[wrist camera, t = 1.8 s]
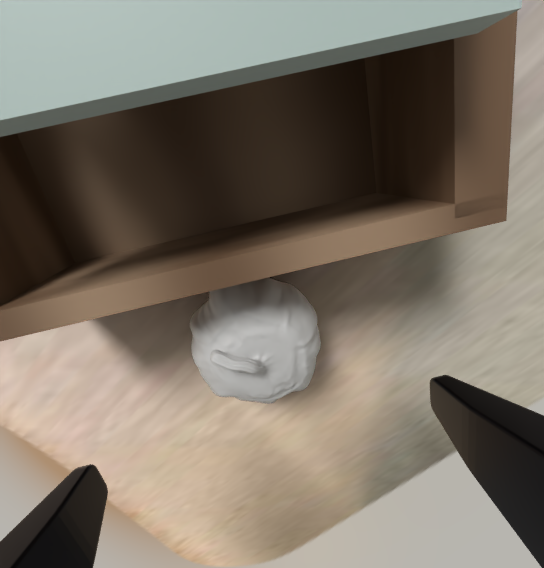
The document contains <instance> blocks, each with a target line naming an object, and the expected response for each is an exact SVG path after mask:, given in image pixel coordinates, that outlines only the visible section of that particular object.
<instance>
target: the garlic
mask: <svg viewBox="0 0 544 568" xmlns="http://www.w3.org/2000/svg"><path fill="white" fill-rule="evenodd" d="M209 297H210V298H209V299H208V301H207V302H205V303H204V304H203V305H202V306H201V308H199V309H198V310H197V311H196V312H194V314H193V315H192V317H191V320H190V329H191V331H192V334H193V338H192V344H191V351H192V357H193V360H194V362H195V364H196V366H197V367H198V368H199V372H200V374H201V376H202V377H203V379H204V380H205V381H206V383H207V384H208V385H209V387H210V389H211V390H212V392H213V393H214V394H216V395H217V396H220V397H235V398H237V399H239V400H243V401H252V402H259V403H268V404H269V403H274V402H275V401H276V400H277V399H279V398H281V397H283V396H285V395H287V394H289V393H291V392H294V391H301V390H304V389H305V388H306V387H307V386H308V385H309V383H310V381H311V378H312V376H313V373H314V370H315V365H316V356H317V354H318V353H319V351H320V347H321V340H320V337H319V329H318V326H317V315H316V312H315V310H314V308H313V306H312V305H311V304H310V303H309V301H308V300H307V298H306V297H305V296H304V295H303V294H302V293H301V292H300V291H298V289H297V288H296V287H294V286H293V285H291V284H288V283H283V282H279V281H276V280H274V279H272V278H264V279H260V280H255V281H251V282H247V283H243V284H239V285H234V286H230V287H226V288H222V289H218V290H213V291H209Z"/></svg>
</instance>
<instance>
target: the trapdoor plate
mask: <svg viewBox="0 0 544 568" xmlns="http://www.w3.org/2000/svg"><path fill="white" fill-rule="evenodd" d="M521 7H522V0H0V137H2V136H7V135H11V134H16V133H21V132H25V131H30V130H34V129H39V128H44V127H48V126H53V125H57V124H62V123H67V122H71V121H76V120H81V119H85V118H90V117H94V116H99V115H104V114H108V113H113V112H117V111H122V110H127V109H131V108H136V107H140V106H145V105H150V104H154V103H159V102H163V101H168V100H173V99H177V98H182V97H187V96H191V95H196V94H200V93H205V92H210V91H214V90H219V89H223V88H228V87H233V86H237V85H242V84H246V83H251V82H256V81H260V80H265V79H269V78H274V77H279V76H283V75H288V74H293V73H297V72H302V71H306V70H311V69H316V68H320V67H325V66H329V65H334V64H339V63H343V62H348V61H352V60H357V59H362V58H366V57H371V56H375V55H380V54H385V53H389V52H394V51H399V50H403V49H408V48H412V47H417V46H422V45H426V44H431V43H435V42H440V41H445V40H449V39H454V38H458V37H463V36H468V35H472V34H477V33H479V32H481V31H482V30H484V29H486V28H488V27H489V26H491V25H493V24H495V23H496V22H498V21H500V20H502V19H503V18H505V17H507V16H509V15H510V14H512V13H514V12H516V11H517V10H519V9H521Z"/></svg>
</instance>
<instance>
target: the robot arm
mask: <svg viewBox="0 0 544 568" xmlns="http://www.w3.org/2000/svg"><path fill="white" fill-rule="evenodd" d="M430 400H431V406H432V409H433V411H434V413H435V415H436V416H437V418H438V419H439V421H440V423H441V424H442V426H443V428H444V429H445V431H446V433H447V434H448V436H449V438H450V439H451V441H452V443H453V444H454V446H455V448H456V449H457V451H458V453H459V454H460V456H461V457H462V459H463V460H464V462H465V464H466V465H467V467H468V468H469V470H470V471H471V473H472V474H473V475H474V477H475V478H476V480H477V481H478V482H479V484H480V485H481V486H482V488H483V489H484V490H485V491H486V493H487V494H488V496H489V497H490V498H491V500H492V501H493V502H494V504H495V505H496V506H497V508H498V509H499V511H500V512H501V513H502V515H503V516H504V517H505V519H506V520H507V521H508V522H509V524H510V525H511V527H512V528H513V529H514V531H515V532H516V533H517V535H518V536H519V537H520V539H521V540H522V541H523V543H524V544H525V546H526V547H527V548H528V549H529V551H530V552H531V554H532V555H533V556H534V558H535V559H536V560H537V562H538V563H539V564H540V566H541V567H542V568H544V416H543V415H541V414H538V413H536V412H534V411H532V410H529V409H527V408H524V407H522V406H520V405H517V404H515V403H512V402H510V401H508V400H505V399H503V398H501V397H498V396H496V395H493V394H491V393H489V392H486V391H484V390H482V389H479V388H477V387H474V386H472V385H470V384H467V383H465V382H462V381H460V380H458V379H455V378H453V377H451V376H448V375H442V376H438V377H434V378H432V379H431V380H430ZM107 494H108V490H107V485H106V483H105V482H104V480H103V478H102V476H101V474H100V473H99V471H98V469H97V467H96V466H94V465H91V464H90V465H86V466H82V467H78V468H76V469H75V470H73V471H72V472H71V473H70V474H69V476H67V477H66V478H65V479H64V480H63V481H62V482H61V483H60V484H59V485H58V486H57V487H56V488H55V489H54V490H53V491H52V492H51V493H50V494H49V495H48V496H47V497H46V498H45V499H44V500H43V501H42V502H41V503H40V504H39V505H37V506H36V507H35V508H34V509H33V510H32V511H31V512H30V513H29V515H27V516H26V517H25V518H24V519H23V520H22V521H21V522H20V523H19V524H18V525H17V526H16V527H15V528H14V529H13V530H12V531H11V532H10V533H9V534H8V535H7V536H6V537H5V538H4V539H3V540H2V541H0V568H93V564H94V560H95V556H96V551H97V546H98V541H99V536H100V531H101V525H102V521H103V515H104V510H105V505H106V500H107Z"/></svg>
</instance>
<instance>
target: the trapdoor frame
mask: <svg viewBox="0 0 544 568" xmlns="http://www.w3.org/2000/svg"><path fill="white" fill-rule="evenodd" d="M516 26H517V11H516V12H514V13H512V14H510V15H509V16H507V17H505V18H503V19H502V20H500V21H498V22H496V23H495V24H493V25H491V26H489V27H488V28H486V29H484V30H482V31H481V32H479V33H477V34H472V35H468V36H463V37H458V38H454V39H449V40H445V41H440V42H435V43H431V44H426V45H422V46H417V47H412V48H408V49H403V50H399V51H394V52H389V53H385V54H380V55H375V56H371V57H366V58H362V59H357V60H352V61H348V62H343V63H339V64H334V65H329V66H325V67H320V68H316V69H311V70H306V71H302V72H297V73H293V74H288V75H283V76H279V77H274V78H269V79H265V80H260V81H256V82H251V83H246V84H242V85H237V86H233V87H228V88H223V89H219V90H214V91H210V92H205V93H200V94H196V95H191V96H187V97H182V98H177V99H173V100H168V101H163V102H159V103H154V104H150V105H145V106H140V107H136V108H131V109H127V110H122V111H117V112H113V113H108V114H104V115H99V116H94V117H90V118H85V119H81V120H76V121H71V122H67V123H62V124H57V125H53V126H48V127H44V128H39V129H34V130H30V131H25V132H21V133H16V134H11V135H7V136H2V137H0V341H4V340H8V339H12V338H16V337H20V336H25V335H29V334H33V333H37V332H41V331H46V330H50V329H54V328H58V327H62V326H67V325H71V324H75V323H79V322H83V321H88V320H92V319H96V318H100V317H104V316H109V315H113V314H117V313H121V312H125V311H130V310H134V309H138V308H142V307H146V306H150V305H155V304H159V303H163V302H167V301H171V300H176V299H180V298H184V297H188V296H192V295H197V294H201V293H205V292H209V291H213V290H218V289H222V288H226V287H230V286H234V285H239V284H243V283H247V282H251V281H255V280H260V279H264V278H268V277H272V276H276V275H281V274H285V273H289V272H293V271H297V270H302V269H306V268H310V267H314V266H318V265H323V264H327V263H331V262H335V261H339V260H344V259H348V258H352V257H356V256H360V255H365V254H369V253H373V252H377V251H381V250H385V249H390V248H394V247H398V246H402V245H406V244H411V243H415V242H419V241H423V240H427V239H432V238H436V237H440V236H444V235H448V234H453V233H457V232H461V231H465V230H469V229H474V228H478V227H482V226H486V225H490V224H495V223H499V222H503V221H506V214H507V196H508V177H509V158H510V139H511V120H512V101H513V83H514V64H515V45H516Z"/></svg>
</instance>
